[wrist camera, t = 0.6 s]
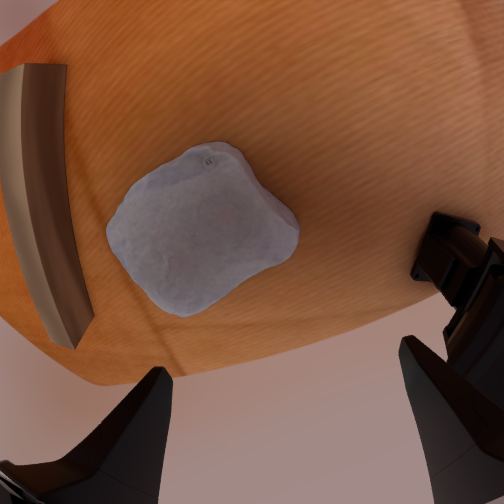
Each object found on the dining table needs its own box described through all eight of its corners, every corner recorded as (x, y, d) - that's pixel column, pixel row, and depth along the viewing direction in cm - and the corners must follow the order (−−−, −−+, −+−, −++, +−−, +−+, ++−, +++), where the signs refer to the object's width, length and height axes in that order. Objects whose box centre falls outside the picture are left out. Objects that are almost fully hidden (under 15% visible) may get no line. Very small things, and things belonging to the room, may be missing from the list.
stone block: (119, 215, 22) (190, 305, 24) (86, 230, 17) (170, 336, 19) (226, 121, 18) (306, 229, 20) (209, 110, 14) (313, 250, 16)
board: (67, 64, 13) (24, 63, 9) (94, 316, 25) (74, 349, 21) (41, 72, 13) (-1, 74, 9) (72, 310, 25) (52, 342, 20)
